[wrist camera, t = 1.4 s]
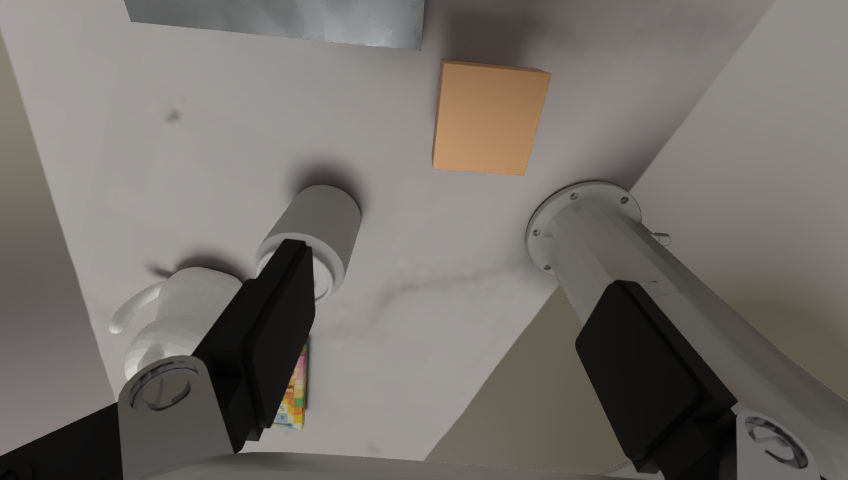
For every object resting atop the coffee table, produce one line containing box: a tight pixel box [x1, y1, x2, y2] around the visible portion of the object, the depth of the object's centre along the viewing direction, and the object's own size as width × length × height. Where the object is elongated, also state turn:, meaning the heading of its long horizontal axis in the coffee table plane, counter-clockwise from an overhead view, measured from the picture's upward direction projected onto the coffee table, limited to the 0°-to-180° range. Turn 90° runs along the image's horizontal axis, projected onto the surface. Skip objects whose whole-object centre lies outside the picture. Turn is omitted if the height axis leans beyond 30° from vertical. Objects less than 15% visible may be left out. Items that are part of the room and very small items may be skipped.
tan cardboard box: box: [432, 59, 551, 176], centre depth 27 cm, size 7×7×9 cm
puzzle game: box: [271, 344, 307, 430], centre depth 51 cm, size 12×5×20 cm
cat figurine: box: [110, 267, 242, 381], centre depth 36 cm, size 9×12×15 cm
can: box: [256, 185, 361, 305], centre depth 32 cm, size 8×8×12 cm
